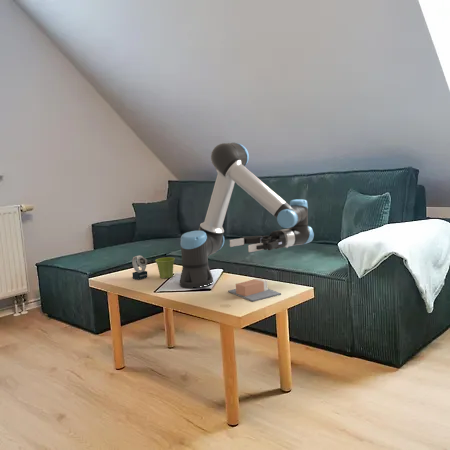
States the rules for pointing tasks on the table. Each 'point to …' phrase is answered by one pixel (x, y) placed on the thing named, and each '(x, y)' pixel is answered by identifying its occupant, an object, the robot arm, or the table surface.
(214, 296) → the table surface
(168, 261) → the plant pot
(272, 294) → the slate mat
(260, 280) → the block
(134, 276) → the watch
